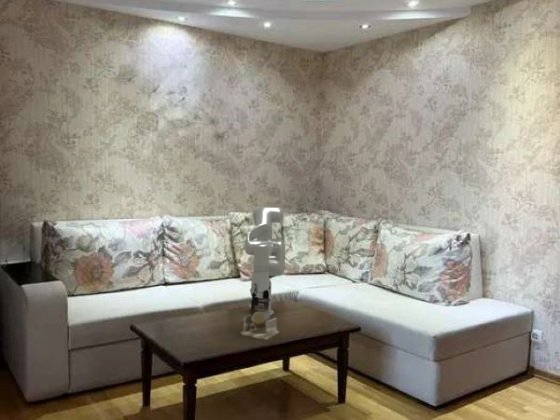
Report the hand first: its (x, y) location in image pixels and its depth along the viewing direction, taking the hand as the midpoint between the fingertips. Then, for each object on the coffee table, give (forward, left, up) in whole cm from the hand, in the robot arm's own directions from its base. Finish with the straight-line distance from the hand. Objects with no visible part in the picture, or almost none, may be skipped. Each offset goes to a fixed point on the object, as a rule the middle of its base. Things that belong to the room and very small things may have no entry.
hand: (260, 302), depth 252 cm
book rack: (0, 0, -16) cm, 16 cm away
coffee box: (0, 0, -15) cm, 15 cm away
